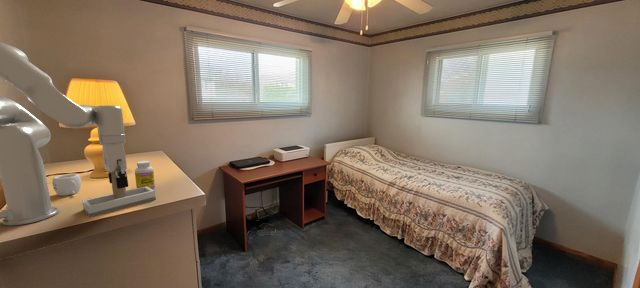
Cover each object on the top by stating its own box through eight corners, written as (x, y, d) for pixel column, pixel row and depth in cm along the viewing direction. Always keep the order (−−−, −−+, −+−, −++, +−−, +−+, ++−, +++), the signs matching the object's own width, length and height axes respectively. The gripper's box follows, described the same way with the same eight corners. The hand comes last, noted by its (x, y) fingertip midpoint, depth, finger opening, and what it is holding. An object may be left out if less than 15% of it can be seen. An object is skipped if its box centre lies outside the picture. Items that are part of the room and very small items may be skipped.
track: (89, 216, 86) (87, 207, 85) (83, 209, 92) (81, 200, 91) (155, 199, 101) (154, 190, 101) (147, 194, 107) (146, 186, 107)
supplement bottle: (140, 194, 107) (136, 164, 105) (134, 191, 111) (131, 162, 109) (158, 190, 112) (154, 161, 110) (152, 187, 116) (148, 159, 114)
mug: (51, 195, 106) (47, 177, 105) (77, 189, 114) (74, 172, 112) (63, 200, 101) (60, 181, 100) (90, 193, 108) (87, 175, 107)
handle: (117, 205, 93) (111, 164, 91) (109, 202, 96) (103, 163, 94) (132, 200, 97) (127, 162, 95) (124, 198, 100) (119, 160, 98)
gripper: (93, 138, 95) (100, 183, 98) (105, 143, 84) (112, 192, 87) (118, 136, 101) (123, 178, 103) (132, 140, 90) (138, 187, 93)
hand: (118, 184), depth 95 cm, fingers open, 9 cm apart
